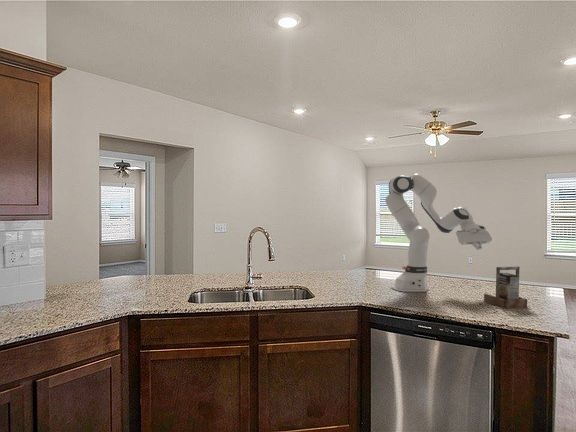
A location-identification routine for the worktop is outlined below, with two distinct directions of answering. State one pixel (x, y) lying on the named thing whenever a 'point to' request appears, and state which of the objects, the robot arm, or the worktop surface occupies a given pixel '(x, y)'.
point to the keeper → (501, 302)
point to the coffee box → (509, 286)
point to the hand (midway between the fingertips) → (479, 249)
